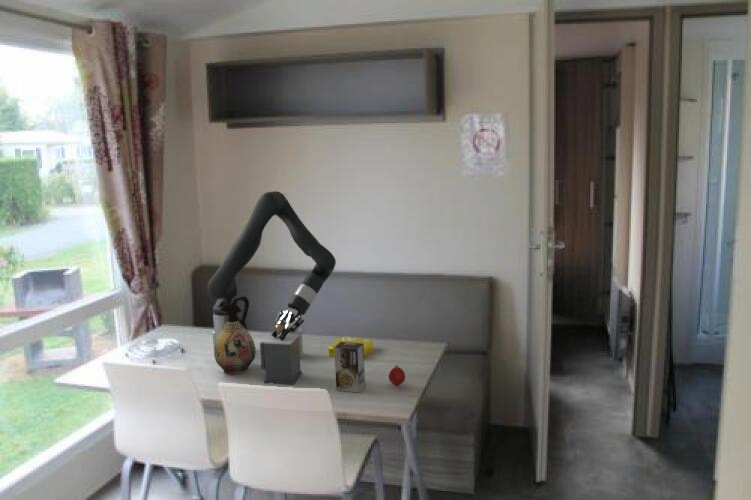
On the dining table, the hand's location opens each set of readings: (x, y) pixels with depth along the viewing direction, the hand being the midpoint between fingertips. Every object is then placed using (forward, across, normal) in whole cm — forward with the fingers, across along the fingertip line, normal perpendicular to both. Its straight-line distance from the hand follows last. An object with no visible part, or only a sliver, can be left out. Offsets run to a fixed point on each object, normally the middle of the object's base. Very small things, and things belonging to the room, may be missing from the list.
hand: (276, 337), depth 239 cm
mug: (-1, -19, +24) cm, 31 cm away
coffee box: (+2, +25, +21) cm, 33 cm away
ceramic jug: (+16, -19, +7) cm, 26 cm away
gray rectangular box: (+11, -1, +12) cm, 16 cm away
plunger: (+9, 0, +12) cm, 15 cm away
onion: (-7, +36, +30) cm, 47 cm away
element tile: (-15, -4, +38) cm, 41 cm away
